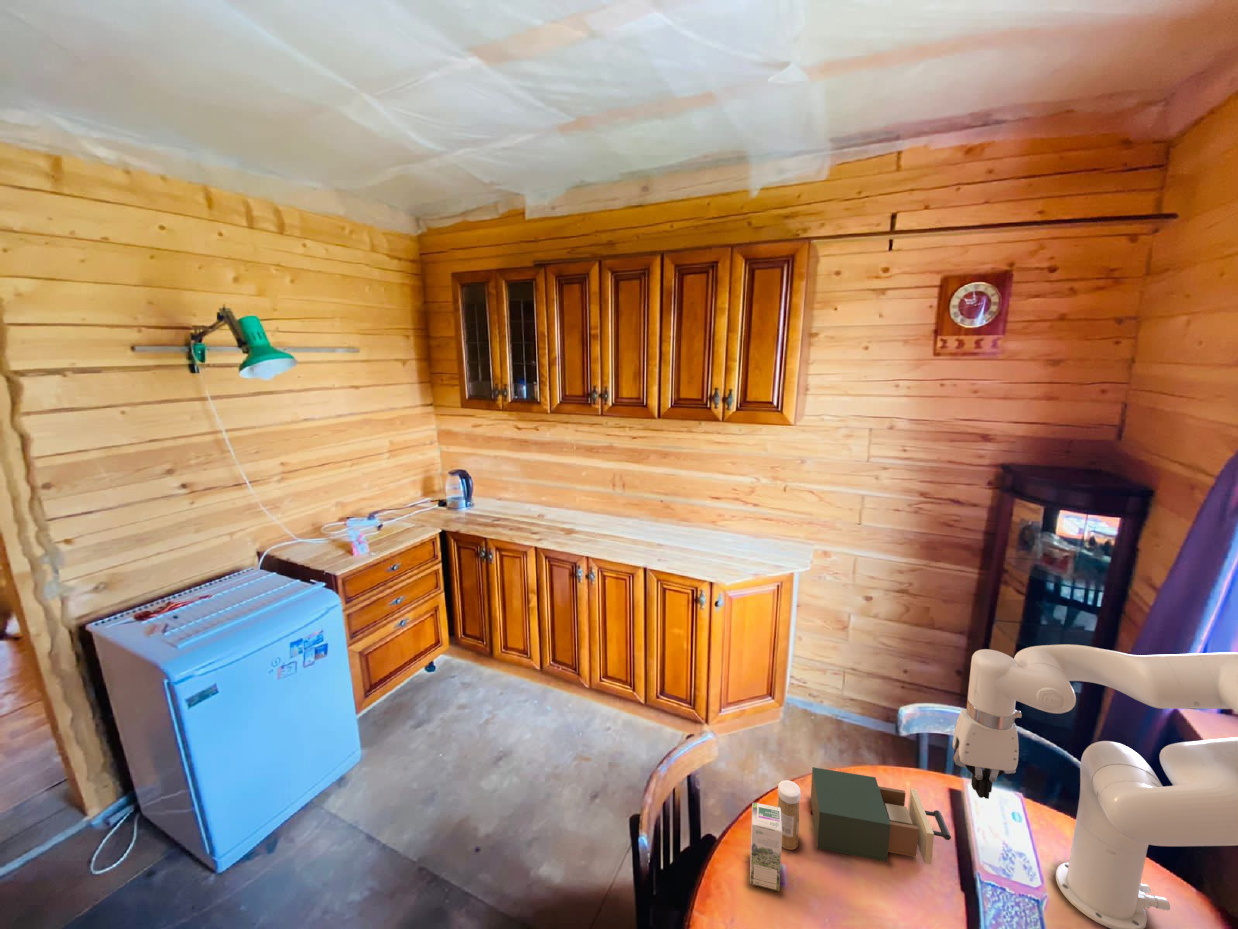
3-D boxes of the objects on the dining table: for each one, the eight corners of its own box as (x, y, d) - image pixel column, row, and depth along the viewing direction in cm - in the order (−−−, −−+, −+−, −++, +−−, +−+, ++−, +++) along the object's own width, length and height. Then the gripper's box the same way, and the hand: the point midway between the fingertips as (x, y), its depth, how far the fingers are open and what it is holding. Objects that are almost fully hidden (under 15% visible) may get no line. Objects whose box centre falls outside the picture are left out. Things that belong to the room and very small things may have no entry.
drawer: (934, 821, 112) (937, 792, 111) (954, 869, 101) (957, 838, 100) (853, 806, 116) (855, 779, 115) (864, 851, 105) (866, 822, 104)
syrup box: (778, 865, 104) (781, 805, 101) (779, 893, 98) (782, 830, 96) (750, 859, 105) (752, 799, 103) (749, 886, 100) (751, 824, 97)
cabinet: (872, 811, 116) (875, 777, 114) (887, 862, 104) (890, 824, 102) (810, 800, 119) (812, 767, 118) (817, 848, 107) (819, 812, 106)
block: (905, 824, 110) (906, 806, 110) (911, 841, 106) (912, 824, 105) (883, 820, 111) (884, 803, 111) (888, 837, 107) (889, 820, 106)
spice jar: (802, 843, 108) (805, 789, 106) (788, 855, 106) (791, 800, 104) (785, 828, 112) (787, 775, 110) (771, 838, 110) (773, 785, 107)
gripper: (1023, 705, 101) (1013, 784, 105) (940, 696, 105) (933, 773, 108) (1044, 731, 94) (1033, 815, 97) (954, 720, 98) (946, 801, 101)
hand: (980, 792), depth 103 cm, fingers closed
